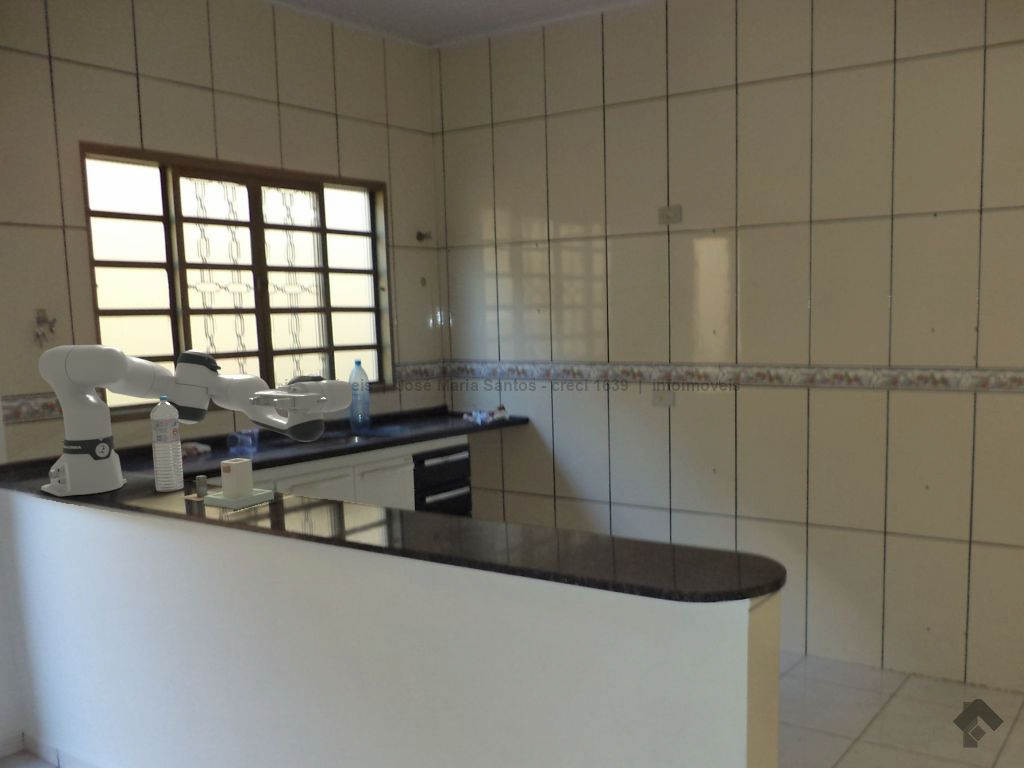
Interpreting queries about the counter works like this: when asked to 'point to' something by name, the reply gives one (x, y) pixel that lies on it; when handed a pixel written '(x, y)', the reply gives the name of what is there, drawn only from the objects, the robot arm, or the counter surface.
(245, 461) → the sleeve
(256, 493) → the tray
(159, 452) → the water bottle
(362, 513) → the counter surface
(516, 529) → the counter surface
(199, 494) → the stand
